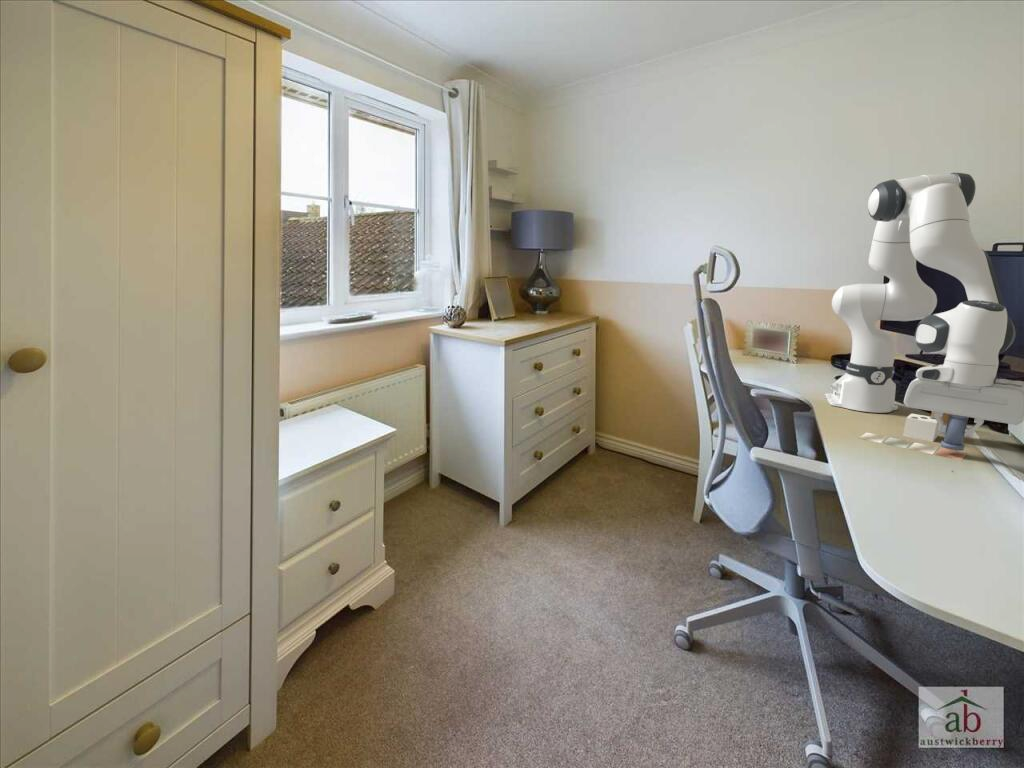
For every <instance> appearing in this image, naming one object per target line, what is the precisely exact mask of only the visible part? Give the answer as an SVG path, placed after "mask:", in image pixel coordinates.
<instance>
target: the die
mask: <svg viewBox="0 0 1024 768" xmlns="http://www.w3.org/2000/svg"><path fill="white" fill-rule="evenodd" d="M938 426H939V424H938V423H937V421H936V419H935V417H931V416H929V415H928V416H927V415H924V414H917V413H910V414H909V415H908V416H906V417H905V423H904V428H903V434H902V436H903V437H908V438H912V439H918V440H921V441H922V440H923V441H928V442H934V441H936V439H937V438H938V435H939V434H938V432H939V431H938Z"/></svg>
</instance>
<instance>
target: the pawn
mask: <svg viewBox="0 0 1024 768" xmlns="http://www.w3.org/2000/svg"><path fill="white" fill-rule="evenodd" d="M967 418H968V417H965V416H959V415H953V414H950V417H949V420H948V424H947V429H946V434H945V436H944V439H943V440H941V442H940V447H941V448H945V449H950V450H954V451H959V452H962V451H964V450H965V444H964V438H965V436H964V433H965V429H966V427H967V426H968V422H969V418H968V419H967Z"/></svg>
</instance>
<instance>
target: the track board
mask: <svg viewBox="0 0 1024 768" xmlns="http://www.w3.org/2000/svg"><path fill="white" fill-rule="evenodd" d="M858 439H860V440H864V441H869V442H874V443H879V444H883V445H887V446H892V447H897V448H900V449H901V448H902V449H904V450H905V449H908V450H911V451H915V452H920V453H925V454H930V455H935V456H937V457H943V458H947V459H953V460H957V461H963V460H964V458H965V456H967V452H964V451H960V450H951V449H947V448H944V447H940V449H939V446H933V445H929V444H926V443H925V444H924V443H920V442H914V443H913V441H911V440H905V439H900V438H895V437H890V436H889V437H888V436H886V435H881V434H876V433H871V432H865V433H864V434H862V435H861V436H859V437H858Z"/></svg>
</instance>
